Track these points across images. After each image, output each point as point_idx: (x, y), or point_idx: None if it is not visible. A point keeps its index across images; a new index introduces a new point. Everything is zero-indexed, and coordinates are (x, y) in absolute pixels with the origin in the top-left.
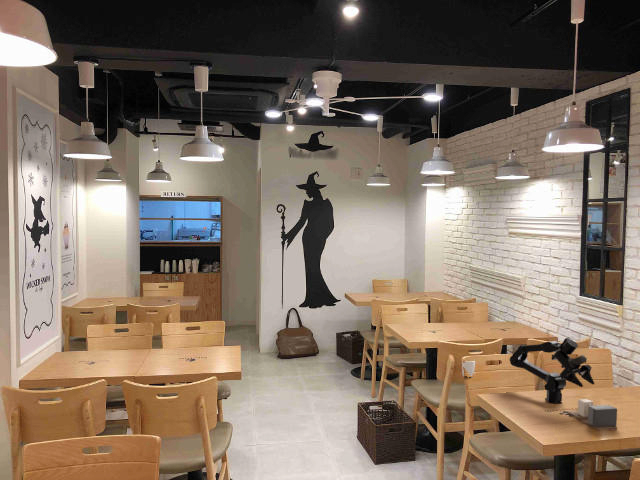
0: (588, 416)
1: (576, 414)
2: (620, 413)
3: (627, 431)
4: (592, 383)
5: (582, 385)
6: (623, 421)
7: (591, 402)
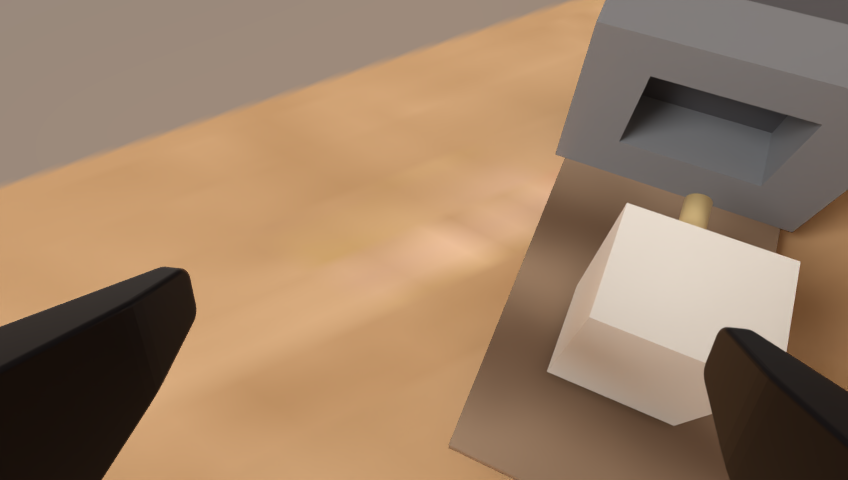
0: (839, 190)
1: (690, 431)
2: (147, 231)
3: (554, 41)
4: (180, 320)
5: (750, 333)
6: (355, 135)
7: (654, 218)
